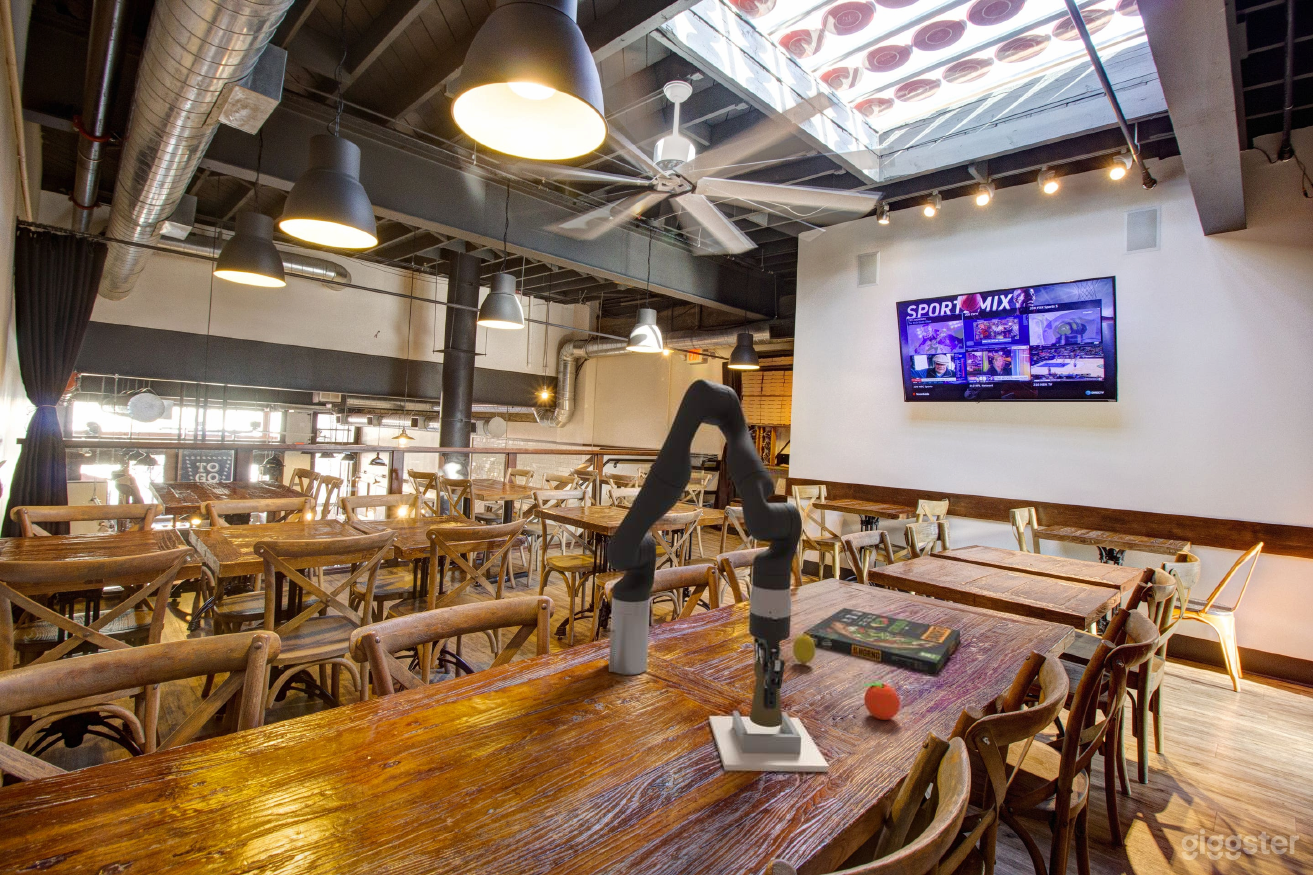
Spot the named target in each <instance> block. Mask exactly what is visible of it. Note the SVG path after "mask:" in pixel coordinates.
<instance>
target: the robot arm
mask: <svg viewBox="0 0 1313 875" xmlns="http://www.w3.org/2000/svg"><path fill="white" fill-rule="evenodd" d="M702 424H704V425H710V426H715V427H717V428H718V429H719V430H720V431H721V433H722V434H723V436H724V437H725V440H726V442H727V443H726V444H727V452H726V467H727V470H728V474H729V477H730V478H731V480H732V482H733V484H734V486H735V489H736V491H737V492H738V494H739V498H740V504H741V510H742V515H743V516H742V517H743V521H744V526H745V529H746V531H747V533H748V534H749V535H750V536H751V537H752V538H753V539H755V540H756V541H759V542H770V544H769V546H768V548H767V549H766V550H764V551H762V552H760V553H757V554H756V555H755V556H754V558H753V560H752V561H753V564H752V576H751V577H752V581H751V583H752V584H751V590H750V594H749V596H750V598H749V615H748V616H749V617H748V618H749V622H748V632H749V634H750V635H751V636H752V637H753V642H754V643H753V646H754V647H753V648H754V663H755V662H756V661H757V660H759V659H761V673H762V674H764V683H763V685H764V703H763V705H764V708H766V709H774V708H775V707H776V692H777V689H780V690H781V689H782V687H783V686H782V685H783V677H784V671H785V665H786V664H785V663H786V662H785V659H782V656H783V655H782V653H783V652H782V651H783V650H782V648H781V647H780V642H782V641H786V640H788V639H789V638H790V636H791V613H792V595H791V594H792V593H791V585H792V584H791V583H792V582H791V581H792V579H791V578H792V564H793V561H794V558H795V555H796V551H797V548H798V546H799V542H800V539H801V535H802V530H803V519H802V516H801V513H800V511H799V509H798V508H797V507H796V506H795V505H794V504H792V503H790V502H789V503H788V502H767V501H766V500H767V499H769V497H771V496H772V495H773V493H774V491H775V484H774V481H773V478H772V477H771V475H770V473H769V471H768V469H767V467H766V465H765V464H764V461H763V460H762V457H761V456H760V455H759V452H758V451H757V448H756V445H755V444H754V441H753V438H752V435H751V432H750V429H749V426H748V423H747V420H746V417H745V413H744V412H743V408H742V405H741V402H740V400H739V397H738V395H737V393H736V391H735V390H734V389H733V388H731V387H730V386H727V385H725V384H722V383H718V382H715V381H711V380H706V379H704V378H703V379H697V380H695V381H693V382H692V383H691V384H690V385H689V387H688V388H687V390H686V391H685V393H684V395H683V397H682V399H681V402H680V404H679V406H678V410H677V412H676V415H675V417H674V420H673V422H672V424H671V427H670V430H669V431H668V434H667V436H666V438H665V441H664V443H663V444H662V447H661V449H660V451H659V452H658V454H657V456H656V458H655V460H654V462H653V464H652V465H651V468H650V469H649V471H648V473H647V475H646V477H645V478H644V481H643V484H642V486H641V488H640V489H639V491H638V494H637V495H636V497H635V499H634V501H633V502H632V504H631V506H630V507H629V510H628V511H627V513H626V514H625V516H624V518H623V519H622V521H621V522H620V523H619V525H618V527H617V528H616V529H615V531H614V532H613V534H612V536H611V537H610V539H609V542H608V544H607V548H606V560H607V562H608V565H609V566H610V567H611V568H612V569H614V570H616V571H620V572H625V573H624V575H623V576H622V577H621V578H620V579H619V580H618V581H617V582H615V583H613V587H612V589H611V590H612V593H611V594H612V595H611V597H612V598H611V617H610V619H611V620H610V635H609V655H608V656H609V657H608V672H609V673H616V674H619V675H628V676H629V675H639V674H642V673H644V672H645V671H646V670H647V669H648V651H649V650H648V648H649V625H650V604H651V591H652V589H653V587H654V583H655V573H656V564H657V563H656V562H657V545H656V542H655V538H654V537H653V536H652V534H651V533H650V532H649V531H650V529H651V528H652V527H653V526H654V525H655V524H656V523H657V522H658V521H659V520H660V519H662V518H663V517H664V516H665V515H667V513H669V512H670V511H671V510H672V509H673V508H674V507H675V506H676V505H677V504H678V502H679V501H680V499H681V497H682V496H683V494H684V493H685V490H686V488H687V487H688V485H689V483H690V482H691V481H690V480H691V478H692V473H693V472H692V470H693V469H692V468H693V466H692V456H691V455H692V454H691V452H692V451H691V448H692V447H691V446H692V442H693V440H694V438H695V435H696V433H697V432H698V430H699V428H700V426H701V425H702ZM765 666H766V667H769V668H768V670H766V669H765ZM772 679H775V680H774V681H771V680H772Z"/></svg>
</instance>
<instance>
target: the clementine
mask: <svg viewBox="0 0 1313 875" xmlns="http://www.w3.org/2000/svg"><path fill="white" fill-rule="evenodd" d="M868 686H869V687H868ZM865 687H868V688H867V689H866V691H865V693H864V696H863V698H864V699H863V700H864V705H865V707H866V708H865V709H866V710H867V711H868V713H869V714H870V715H871V716H873V718H876V719H878V720H883V721H888V720H890V719H893V718H894V717H896V715H897V714H898V712H900V706H901V703H900V702H901V701H900V699H899V695H898V693H897V692H896V690H894V688H893V687H891V686H889V685H888V684H885V683H881V682H879V683H876V682H872V683H868V684H865V685H863V686H862V687H861V688H860V690H859V692H861V691H862V689H863V688H865Z"/></svg>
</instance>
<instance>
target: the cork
mask: <svg viewBox="0 0 1313 875" xmlns="http://www.w3.org/2000/svg"><path fill="white" fill-rule="evenodd" d="M768 668H769V667H766V666H765V669H766V670H768ZM753 672H754V673H753V674H754V676H755V677H756V678H755V685H754V692H753V695H752V696H753V697H752V702H751V708H750V712H749V713H750V714H749V717H750V720H751V721H752V722H753V723H755V724H757V725H760V726H763V727H777V726H780V725H781V724H782V712H783V711H782V701H781V700H782V699H781V691H780V690H781V689H777V692H776V707H775V708H774V709H766V708H764V705H763V703H764V685H763V683H764V674H762V673H761V659H759V660H757V661H756V662H755V661H754V666H753ZM774 680H775V679H772V680H771V681H774Z"/></svg>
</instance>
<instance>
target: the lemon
mask: <svg viewBox="0 0 1313 875" xmlns="http://www.w3.org/2000/svg"><path fill="white" fill-rule="evenodd" d="M792 652H793V653H792V654H793V657H794V658H795V660H796V661H797V662H800V664H801V665H803V666H805V665H806V664H808V663H810V662H812V661H813V660H814V658H815V655H816V646H815V644H814V641H813V640H812V638H811V637H809V636H808V635H806V634H805V633H804V632H803V633H802V634H799V635H798V636H796V637H795V639H794V641H793V645H792Z"/></svg>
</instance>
